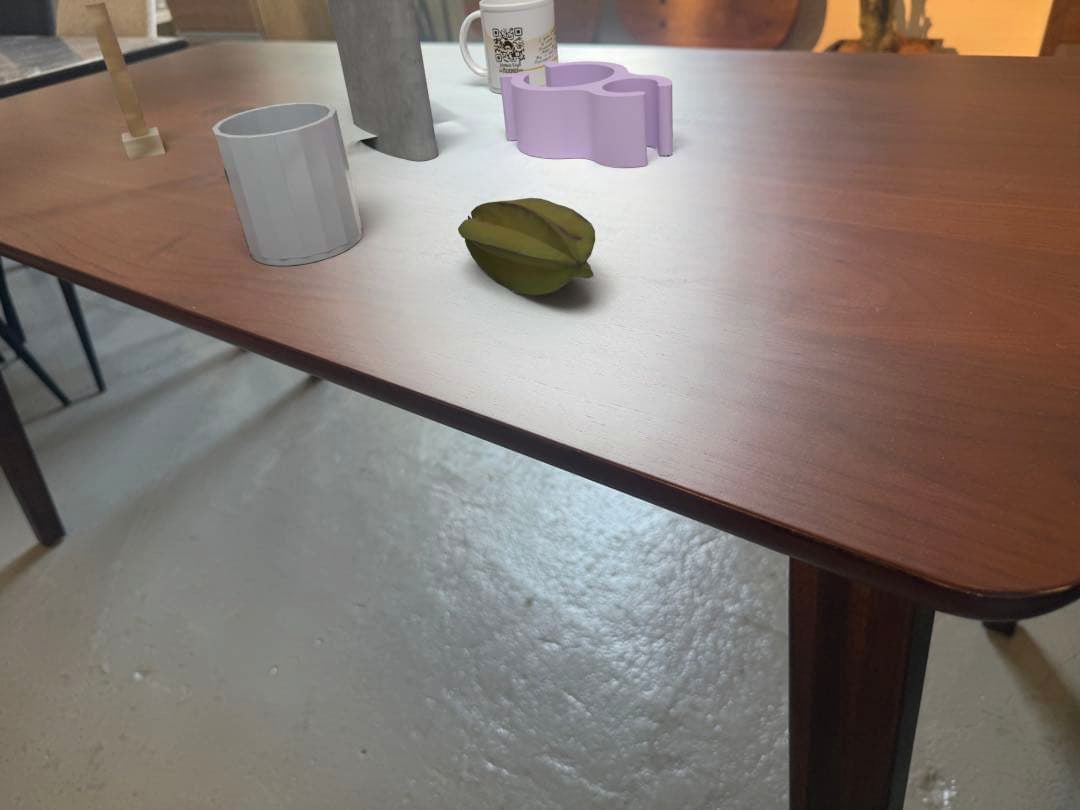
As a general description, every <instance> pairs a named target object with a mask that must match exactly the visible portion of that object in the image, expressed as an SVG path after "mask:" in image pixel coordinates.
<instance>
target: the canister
mask: <svg viewBox="0 0 1080 810" xmlns="http://www.w3.org/2000/svg"><path fill="white" fill-rule="evenodd" d="M341 129H342V128H341V125H340V121H339V116H338V111H337V109H336V108H335V107H334V106H333V105H332V104H330V103H324V102H320V101H296V102H295V101H294V102H288V103H277V104H271V105H266V106H261V107H256V108H252V109H248V110H244V111H242V112H238V113H235V114H232V115H230V116H228V117H226V118H224V119H222V120H219V121H218V122H217V123H216V124H215V125H214V126H212V128H211V130H212V134H213V137H214V140H215V144H216V147H217V150H218V153H219V158H220V161H221V163H222V167H223V171H224V173H225V177H226V180H227V184H228V187H229V190H230V194H231V197H232V200H233V203H234V207H235V210H236V213H237V214H236V215H237V217H238V220H239V223H240V227H241V230H242V233H243V236H244V241H245V243H246V246H247V249H248V251H249V254H250V257H251V258H252V260H254V261H256V262H257V263H259V264H263V265H268V266H275V267H276V266H277V267H289V266H298V265H299V266H300V265H307V264H312V263H316V262H319V261H323V260H326V259H327V260H328V259H330V258H333V257H335V256H337V255H340V254H343V253H344V252H346V251H348V250H350V249H351V248H353V247H354V246H355V245H357V244H358V243H359V242H360V241H361V240H362V236H363V230H362V225H363V224H362V221H361V216H360V211H359V207H358V202H357V197H356V193H355V187H354V183H353V180H352V175H351V171H350V166H349V162H348V157H347V151H346V148H345V143H344V139H343V133H342V130H341Z"/></svg>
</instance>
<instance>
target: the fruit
mask: <svg viewBox="0 0 1080 810" xmlns="http://www.w3.org/2000/svg"><path fill="white" fill-rule="evenodd" d="M470 215H471V216H470ZM470 215H467V219H464V220H463V221H462V222H461V223H460V224H459V226H458V228H457V231H458V234H459V235H460V237H461V238H463V239H464V243H465V246H466V248H467V251H468V252H469V254H470V256H471V258H472V259H473V261H474V262H475V263H476V265H477V266H478V267H479V268H480V269H481V270H482V272H484V274H485V275H487V276H488V277H489V278H490V279H492V280H493V281H494V282H495V283H496V284H499V285H500V286H503V287H505V288H506V289H508V290H509V291H511V292H514V293H517V294H520V295H521V294H522V295H527V296H542V295H548V294H551V293H554V292H556V291H558V290H560V289H561V288H563V287H564V286H565V285H567V284H568V283H570V282H571V281H573V280H574V278H580V279H581V278H582V279H591V278H593V277H594V272H593V269H592V267H591V265H590V264H589V262H588V260H589V258H590V257H591V256H592V253H593V250H594V246H595V243H596V230H595V228H594V225H593V223H591V221H589V220H588V219H587V218H586V217H584V216H583V215H582V214H581V213H579V212H577V211H576V210H574V209H572V208H570V207H568V206H565V205H562V204H559V203H555V202H552V201H550V200H547V199H543V198H540V197H526V198H519V199H511V200H498V201H497V200H496V201H489V202H484V203H481V204H478V205H476V206H475V207H474V208H473V209H472V210H471V211H470Z"/></svg>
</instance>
